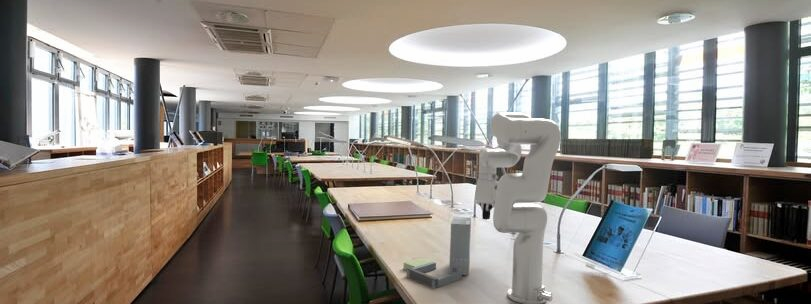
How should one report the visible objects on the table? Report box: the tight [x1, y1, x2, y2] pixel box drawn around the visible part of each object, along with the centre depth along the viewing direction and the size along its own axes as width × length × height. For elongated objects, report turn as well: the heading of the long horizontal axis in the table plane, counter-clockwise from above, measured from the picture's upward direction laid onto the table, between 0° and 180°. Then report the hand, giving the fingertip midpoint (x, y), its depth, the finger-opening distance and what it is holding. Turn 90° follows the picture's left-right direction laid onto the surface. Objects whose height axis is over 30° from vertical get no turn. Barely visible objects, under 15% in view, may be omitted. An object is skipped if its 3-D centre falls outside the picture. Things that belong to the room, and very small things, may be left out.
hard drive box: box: [448, 216, 472, 276], centre depth 155 cm, size 16×8×20 cm, turn 168°
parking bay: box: [406, 261, 463, 289], centre depth 145 cm, size 15×14×3 cm
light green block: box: [403, 257, 434, 271], centre depth 155 cm, size 7×10×3 cm
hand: (486, 218), depth 166 cm, fingers closed
